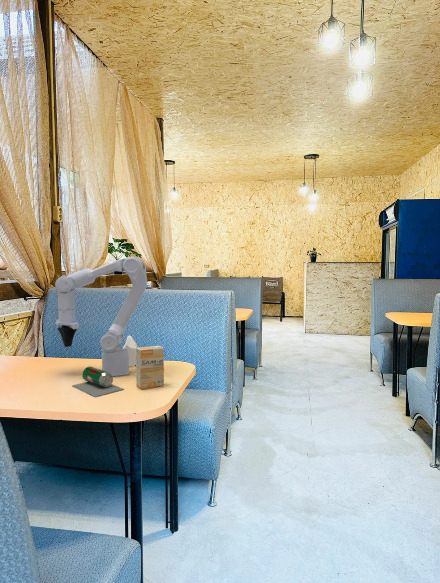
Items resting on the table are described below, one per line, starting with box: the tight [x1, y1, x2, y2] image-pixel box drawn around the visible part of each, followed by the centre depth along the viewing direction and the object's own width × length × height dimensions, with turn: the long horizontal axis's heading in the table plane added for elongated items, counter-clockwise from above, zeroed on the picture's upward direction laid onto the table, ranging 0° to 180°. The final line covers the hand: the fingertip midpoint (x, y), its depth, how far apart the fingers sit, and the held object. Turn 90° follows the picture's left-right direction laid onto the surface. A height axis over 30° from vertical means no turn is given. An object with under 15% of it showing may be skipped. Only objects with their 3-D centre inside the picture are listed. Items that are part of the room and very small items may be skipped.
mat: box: [71, 381, 125, 398], centre depth 130 cm, size 16×10×1 cm, turn 45°
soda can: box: [81, 366, 114, 387], centre depth 133 cm, size 5×5×12 cm
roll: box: [122, 334, 138, 368], centre depth 158 cm, size 6×12×6 cm
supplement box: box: [135, 345, 165, 390], centre depth 131 cm, size 8×5×13 cm, turn 118°
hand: (67, 346), depth 145 cm, fingers closed
